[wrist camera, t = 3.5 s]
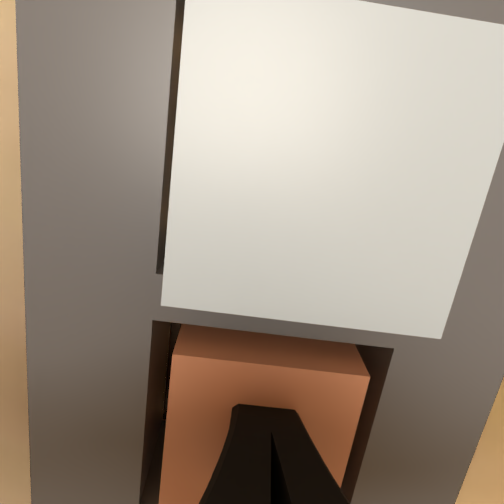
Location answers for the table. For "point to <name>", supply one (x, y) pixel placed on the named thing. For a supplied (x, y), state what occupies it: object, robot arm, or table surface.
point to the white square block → (330, 161)
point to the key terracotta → (254, 398)
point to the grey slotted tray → (160, 317)
